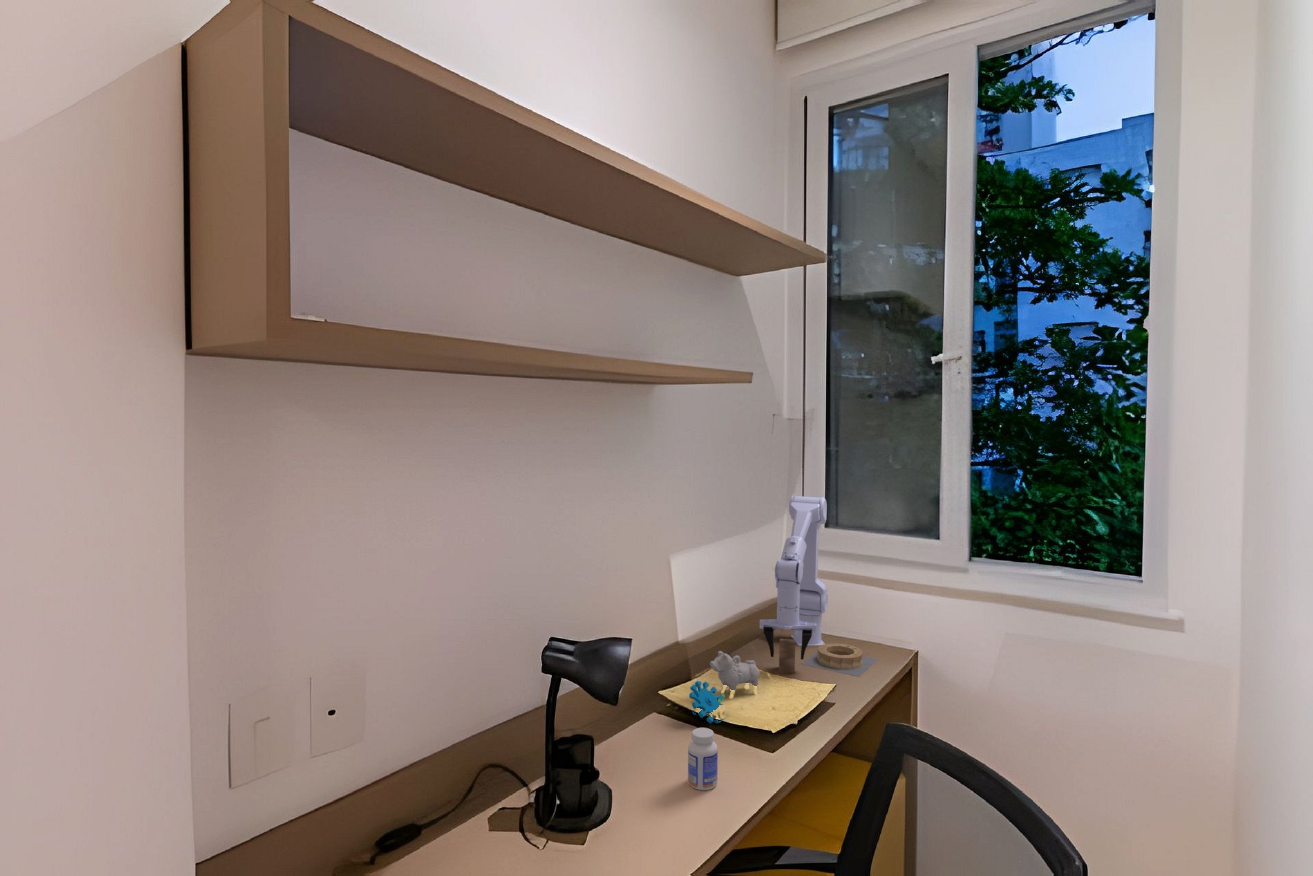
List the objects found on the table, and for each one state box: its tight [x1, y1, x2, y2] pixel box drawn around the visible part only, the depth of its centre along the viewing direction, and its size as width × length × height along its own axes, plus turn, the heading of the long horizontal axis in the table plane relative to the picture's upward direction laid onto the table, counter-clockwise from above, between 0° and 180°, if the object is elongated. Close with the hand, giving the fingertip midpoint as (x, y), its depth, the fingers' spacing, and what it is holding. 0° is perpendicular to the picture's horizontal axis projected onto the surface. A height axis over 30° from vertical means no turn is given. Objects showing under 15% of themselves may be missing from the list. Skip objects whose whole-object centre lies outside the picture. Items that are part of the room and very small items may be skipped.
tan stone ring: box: [817, 642, 864, 669], centre depth 199 cm, size 12×12×3 cm
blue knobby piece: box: [688, 680, 726, 724], centre depth 164 cm, size 11×6×10 cm
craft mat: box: [800, 650, 879, 678], centre depth 199 cm, size 16×16×1 cm
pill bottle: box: [687, 727, 719, 791], centre depth 135 cm, size 5×5×10 cm
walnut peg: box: [778, 638, 796, 674], centre depth 192 cm, size 4×4×8 cm
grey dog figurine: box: [709, 650, 761, 691], centre depth 177 cm, size 5×13×11 cm, turn 114°
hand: (787, 657), depth 191 cm, fingers open, 7 cm apart
